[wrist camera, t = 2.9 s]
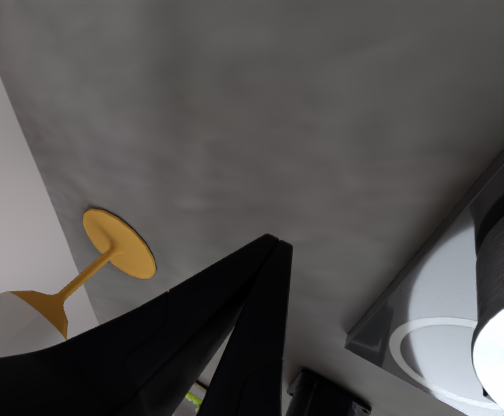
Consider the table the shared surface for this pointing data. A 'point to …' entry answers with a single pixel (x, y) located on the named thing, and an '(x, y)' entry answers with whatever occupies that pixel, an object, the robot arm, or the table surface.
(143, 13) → the table surface
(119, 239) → the cup
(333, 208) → the table surface
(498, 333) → the steel pot
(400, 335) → the hob
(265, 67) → the table surface
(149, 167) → the table surface
